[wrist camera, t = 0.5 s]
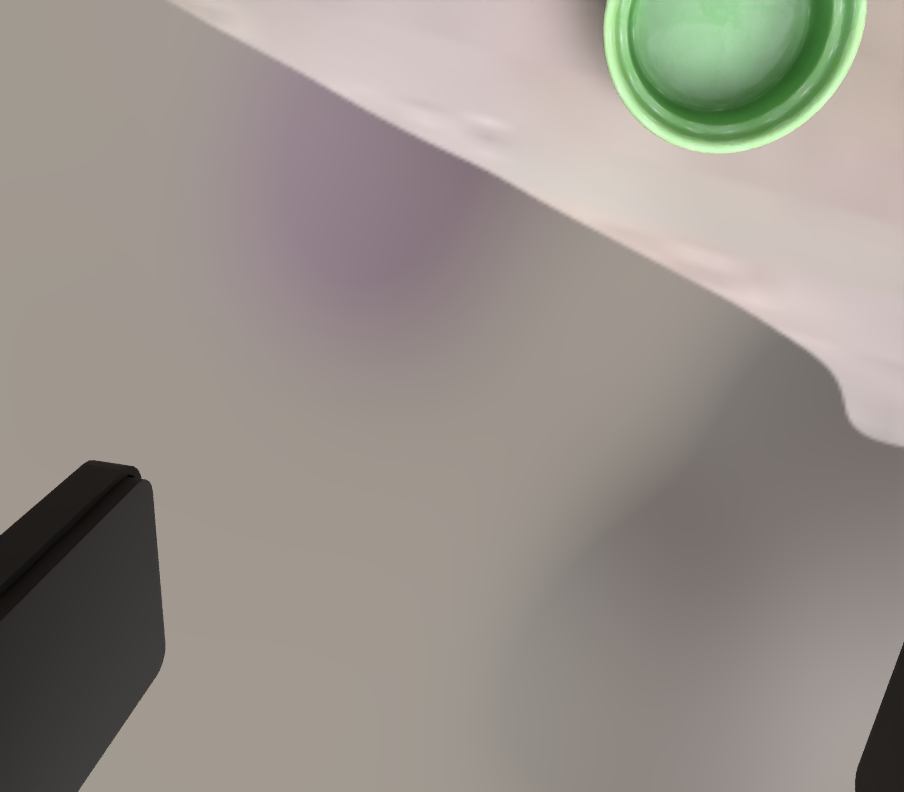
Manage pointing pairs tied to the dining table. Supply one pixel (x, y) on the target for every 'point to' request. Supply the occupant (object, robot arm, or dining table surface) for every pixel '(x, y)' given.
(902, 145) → the dining table surface
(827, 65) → the ramekin
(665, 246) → the dining table surface
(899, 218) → the dining table surface
